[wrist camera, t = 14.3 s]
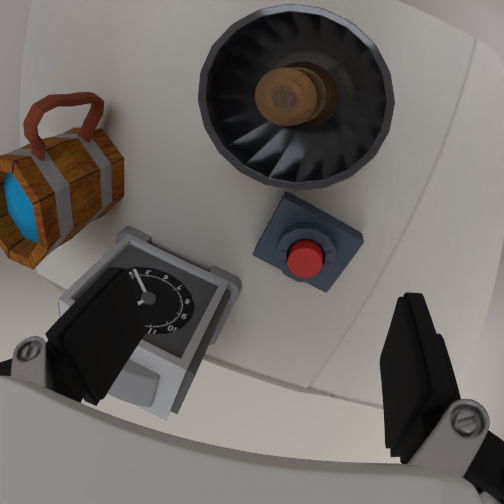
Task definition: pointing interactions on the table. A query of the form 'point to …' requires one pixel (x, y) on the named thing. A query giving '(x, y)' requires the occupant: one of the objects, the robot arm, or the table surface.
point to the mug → (57, 182)
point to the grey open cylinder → (293, 137)
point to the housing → (312, 229)
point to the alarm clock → (163, 319)
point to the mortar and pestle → (297, 95)
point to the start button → (305, 259)
